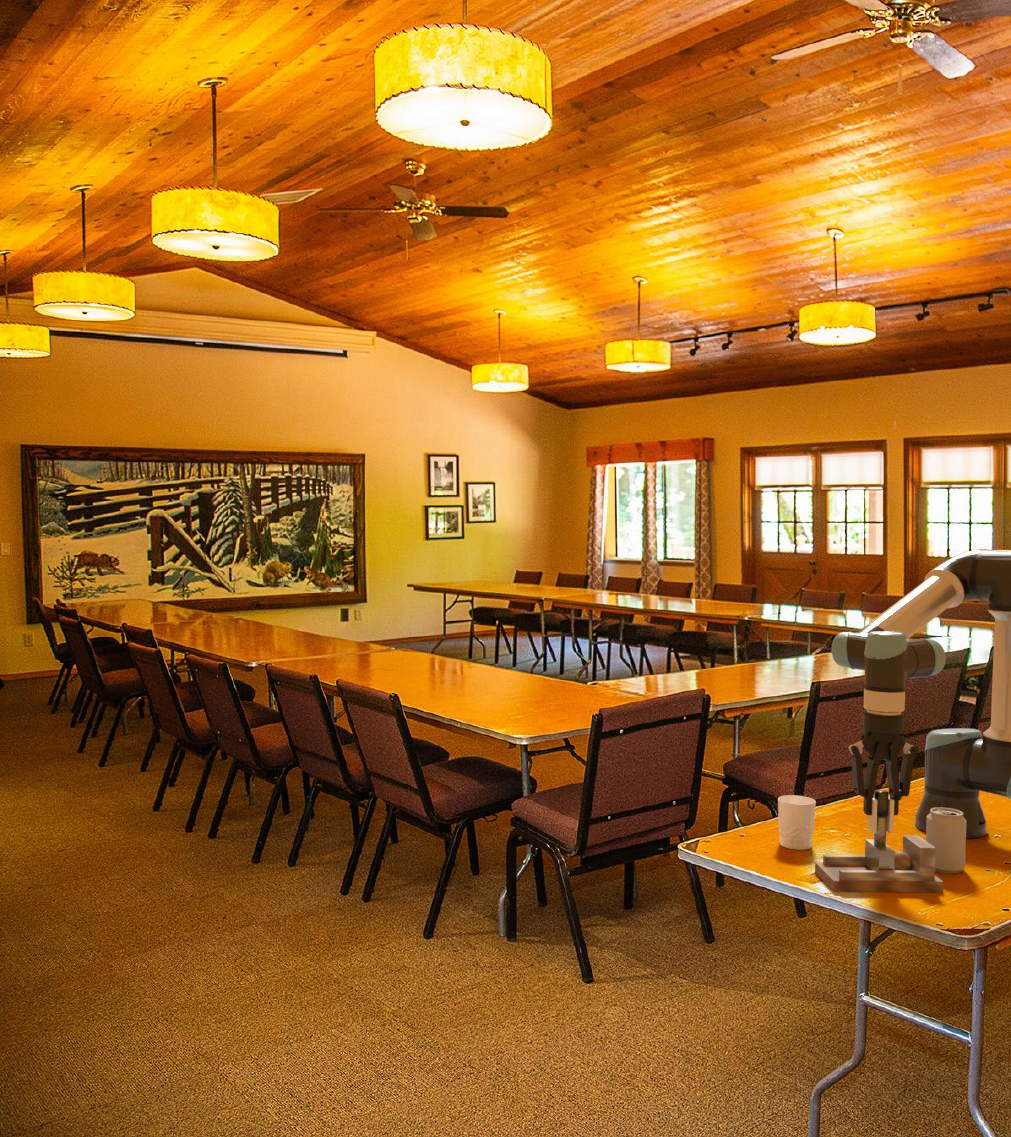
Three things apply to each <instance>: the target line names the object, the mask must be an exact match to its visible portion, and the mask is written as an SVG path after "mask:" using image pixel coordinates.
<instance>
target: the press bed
mask: <svg viewBox="0 0 1011 1137" xmlns="http://www.w3.org/2000/svg"><path fill="white" fill-rule="evenodd" d="M902 852H905V853H907V854H908V855H909V857H910V858H911V867H910V869H909V870H907V871H901V870H871V869H870V868H869V867H867V866H866V865H865V854H823V855H822V856H823V857H822V861H816V862H814V873H815V874H817V876H818V877H819V878H820V879H821V880H822V881H823V882H824V883H825V884H826V885H827V886H828V887H829V888H830V889H831V890H832V891H833V892H853V893H854V892H857V893H858V892H861V893H863V892H864V893H865V892H867V893H868V892H869V893H870V892H874V893H877V892H878V893H879V892H880V893H881V892H883V893H897V892H899V893H909V892H910V893H914V892H915V893H943V892H944V881H943V880H942V879H941V878H939V877H938V876H937V875H936V871H935V854H936V848H935V847H934V846H932V845H931V844H929V843H928V842H926V839H923V838H922V837H921V836H919V835H905V834H904V835H902Z"/></svg>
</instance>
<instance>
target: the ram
mask: <svg viewBox="0 0 1011 1137" xmlns="http://www.w3.org/2000/svg"><path fill="white" fill-rule="evenodd" d="M888 797H890V795H889V790H884V789H875V791H874V798H875V799H877V831H876V833H873V834H874V836H873V839H872V838H871V839H870V838H869V839H868V838H865V840H864V841H865V842H864V855H865V865H866V866H867V867H869V868H870V869H871V870H894V864H895V852H896V851H895V849H894V848H892V847H891V846H889V844H888V843H887V831H886V825H887V816H888Z"/></svg>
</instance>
